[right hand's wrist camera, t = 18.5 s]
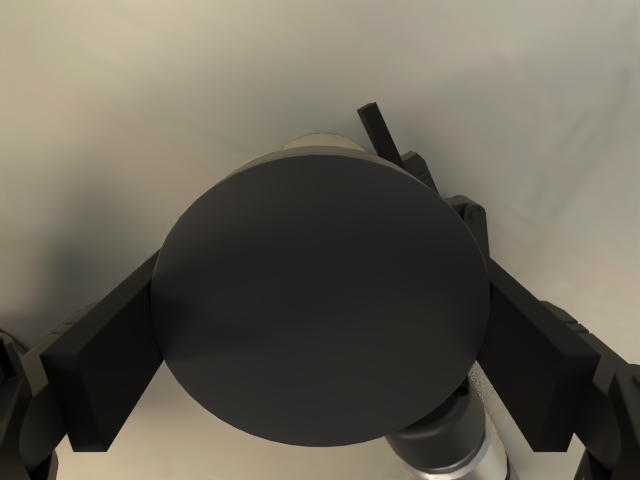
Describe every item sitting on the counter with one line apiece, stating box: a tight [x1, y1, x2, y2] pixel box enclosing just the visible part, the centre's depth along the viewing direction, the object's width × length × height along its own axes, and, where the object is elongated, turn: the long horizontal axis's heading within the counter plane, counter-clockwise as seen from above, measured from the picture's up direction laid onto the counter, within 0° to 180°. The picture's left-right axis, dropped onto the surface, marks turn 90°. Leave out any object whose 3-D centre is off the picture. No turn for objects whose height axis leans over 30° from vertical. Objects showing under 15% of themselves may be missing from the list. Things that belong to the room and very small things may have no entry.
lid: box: [150, 145, 491, 447], centre depth 11 cm, size 10×10×2 cm
